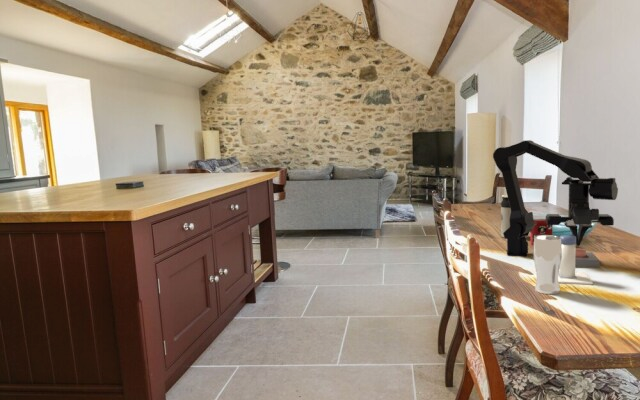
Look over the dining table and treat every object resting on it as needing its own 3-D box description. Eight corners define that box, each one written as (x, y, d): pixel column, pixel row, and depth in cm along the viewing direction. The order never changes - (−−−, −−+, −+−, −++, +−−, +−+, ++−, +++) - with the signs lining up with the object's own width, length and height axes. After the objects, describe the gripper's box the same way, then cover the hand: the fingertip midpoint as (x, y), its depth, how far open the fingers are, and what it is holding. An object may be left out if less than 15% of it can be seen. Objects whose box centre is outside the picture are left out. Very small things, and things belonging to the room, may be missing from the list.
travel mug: (522, 235, 192) (522, 194, 190) (519, 239, 185) (519, 196, 183) (503, 234, 196) (502, 194, 194) (499, 238, 189) (499, 196, 187)
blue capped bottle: (558, 277, 132) (558, 237, 130) (560, 273, 135) (560, 234, 134) (574, 278, 129) (575, 238, 128) (576, 274, 133) (576, 235, 131)
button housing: (563, 266, 144) (563, 258, 144) (558, 258, 153) (558, 251, 153) (599, 267, 141) (599, 259, 140) (591, 259, 150) (591, 252, 150)
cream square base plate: (549, 282, 129) (549, 280, 129) (544, 272, 139) (544, 270, 139) (592, 284, 125) (592, 282, 125) (584, 273, 136) (584, 271, 136)
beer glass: (550, 296, 118) (550, 241, 116) (527, 289, 124) (527, 237, 122) (567, 291, 121) (567, 237, 119) (544, 285, 127) (544, 233, 125)
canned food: (531, 246, 172) (531, 218, 170) (529, 242, 179) (529, 215, 178) (553, 247, 169) (553, 219, 168) (551, 242, 176) (551, 215, 175)
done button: (571, 259, 146) (571, 251, 145) (569, 256, 150) (569, 247, 149) (587, 260, 144) (587, 251, 144) (584, 257, 148) (584, 248, 148)
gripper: (550, 202, 140) (549, 250, 142) (619, 201, 134) (618, 252, 136) (545, 197, 151) (545, 242, 152) (609, 196, 144) (608, 244, 146)
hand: (577, 245), depth 146 cm, fingers closed
